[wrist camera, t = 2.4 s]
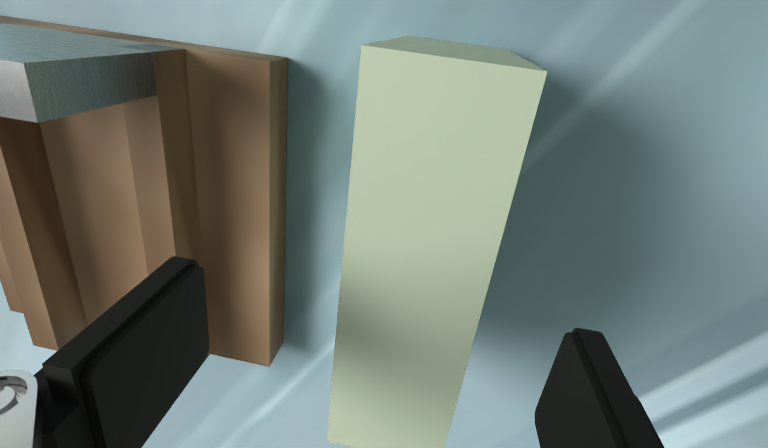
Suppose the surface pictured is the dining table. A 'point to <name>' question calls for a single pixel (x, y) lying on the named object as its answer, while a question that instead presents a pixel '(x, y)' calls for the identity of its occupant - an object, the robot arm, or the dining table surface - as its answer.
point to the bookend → (70, 72)
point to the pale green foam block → (423, 230)
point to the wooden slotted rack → (153, 198)
